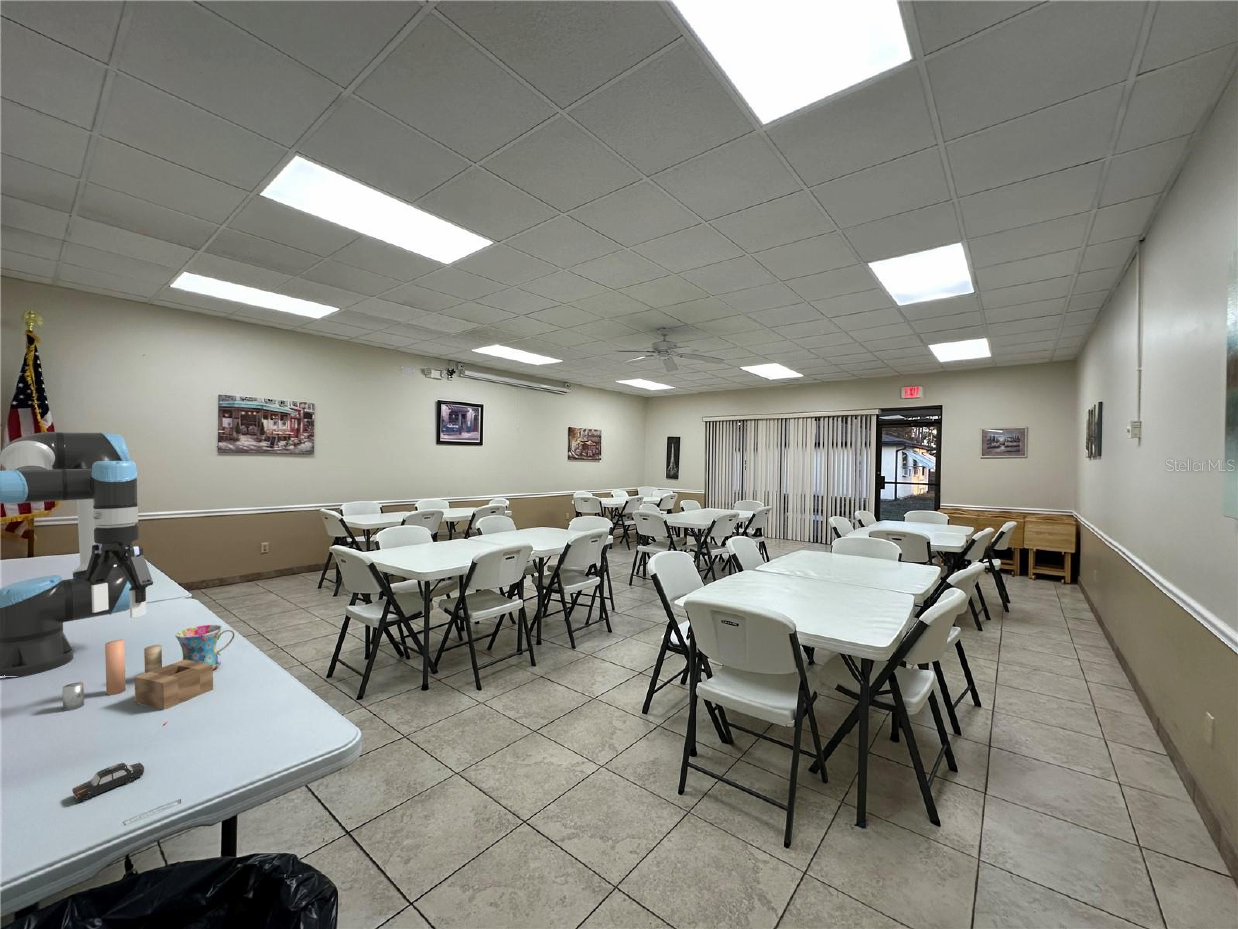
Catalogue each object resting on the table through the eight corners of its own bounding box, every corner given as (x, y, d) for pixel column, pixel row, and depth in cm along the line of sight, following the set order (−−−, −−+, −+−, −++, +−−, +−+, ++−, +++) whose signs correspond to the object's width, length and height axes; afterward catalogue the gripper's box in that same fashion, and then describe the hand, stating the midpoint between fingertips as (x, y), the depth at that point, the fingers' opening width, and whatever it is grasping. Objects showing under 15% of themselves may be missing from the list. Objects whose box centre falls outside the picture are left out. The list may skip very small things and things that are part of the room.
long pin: (103, 694, 118) (101, 644, 118) (120, 688, 121) (118, 639, 121) (111, 696, 117) (110, 645, 117) (128, 690, 120) (127, 640, 120)
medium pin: (142, 680, 125) (141, 648, 125) (157, 675, 128) (156, 644, 128) (150, 682, 124) (149, 650, 124) (165, 676, 127) (164, 645, 127)
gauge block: (135, 703, 114) (134, 677, 114) (185, 683, 123) (184, 659, 123) (164, 709, 110) (163, 683, 110) (213, 689, 120) (212, 664, 120)
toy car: (70, 798, 82) (69, 751, 82) (165, 760, 92) (164, 718, 92) (76, 807, 80) (74, 759, 80) (172, 768, 90) (171, 725, 90)
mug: (177, 682, 124) (176, 640, 124) (175, 670, 131) (174, 630, 130) (237, 667, 132) (236, 628, 132) (233, 657, 139) (232, 619, 139)
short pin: (59, 709, 111) (59, 687, 111) (78, 702, 114) (78, 681, 114) (68, 712, 110) (67, 689, 110) (87, 705, 113) (86, 683, 113)
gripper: (62, 525, 119) (64, 613, 119) (132, 529, 112) (135, 623, 112) (102, 521, 126) (104, 604, 126) (171, 525, 119) (173, 613, 119)
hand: (119, 613), depth 119 cm, fingers open, 13 cm apart
